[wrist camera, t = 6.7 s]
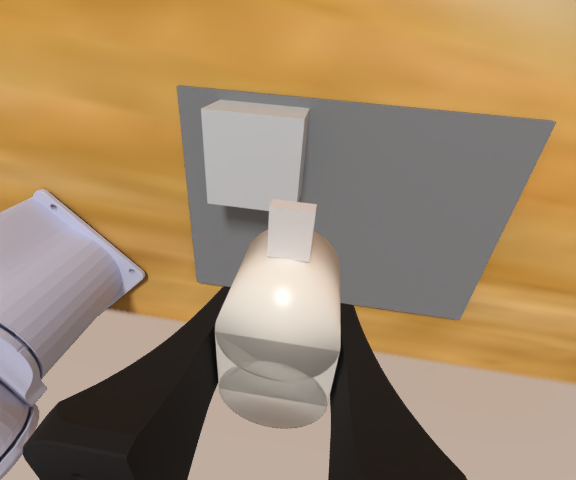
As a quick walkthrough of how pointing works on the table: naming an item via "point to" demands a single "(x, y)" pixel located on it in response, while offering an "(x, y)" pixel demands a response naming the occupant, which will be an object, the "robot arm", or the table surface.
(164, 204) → the table surface
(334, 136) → the mat
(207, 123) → the block
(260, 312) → the plug
